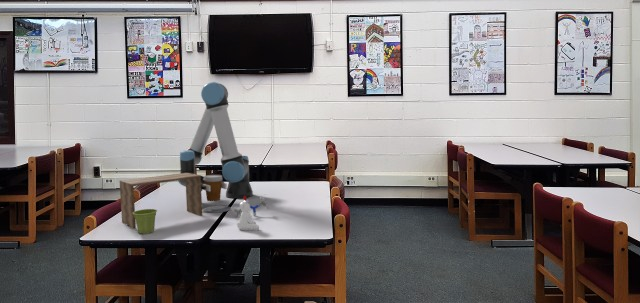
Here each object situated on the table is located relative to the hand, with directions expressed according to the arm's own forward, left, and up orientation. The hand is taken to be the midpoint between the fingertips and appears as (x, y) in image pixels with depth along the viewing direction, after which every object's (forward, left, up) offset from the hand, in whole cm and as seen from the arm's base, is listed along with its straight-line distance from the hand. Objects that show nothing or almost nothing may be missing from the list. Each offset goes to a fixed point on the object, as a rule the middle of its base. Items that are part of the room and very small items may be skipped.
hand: (218, 187), depth 224 cm
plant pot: (+29, +31, -12) cm, 44 cm away
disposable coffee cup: (+2, -4, -7) cm, 9 cm away
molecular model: (-14, +15, -12) cm, 24 cm away
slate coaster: (+1, -4, -12) cm, 12 cm away
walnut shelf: (+25, +9, -12) cm, 29 cm away
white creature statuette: (-12, +37, -12) cm, 41 cm away
